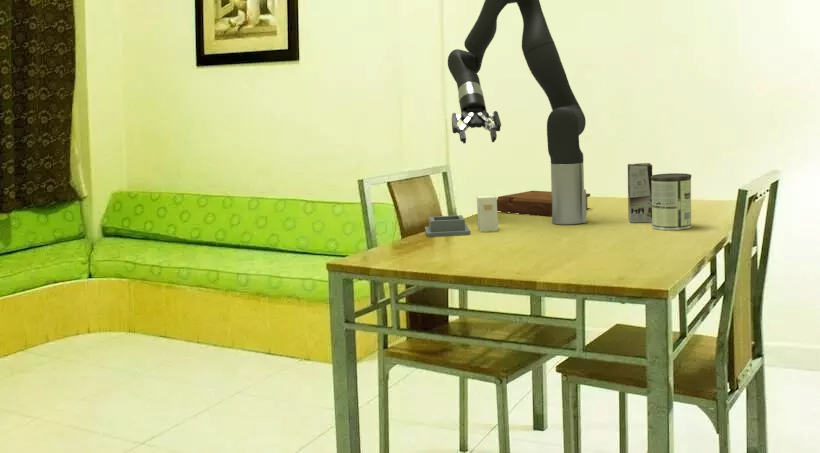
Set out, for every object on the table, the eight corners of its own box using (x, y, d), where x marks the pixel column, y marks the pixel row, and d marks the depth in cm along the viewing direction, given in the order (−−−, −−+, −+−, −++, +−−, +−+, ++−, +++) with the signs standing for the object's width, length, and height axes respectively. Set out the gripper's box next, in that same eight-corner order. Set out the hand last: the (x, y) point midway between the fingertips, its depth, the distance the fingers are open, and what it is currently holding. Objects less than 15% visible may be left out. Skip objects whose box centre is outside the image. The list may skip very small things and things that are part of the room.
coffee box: (653, 222, 239) (652, 165, 236) (629, 223, 240) (628, 165, 238) (650, 218, 248) (650, 162, 245) (627, 218, 249) (627, 163, 246)
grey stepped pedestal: (466, 227, 247) (465, 214, 246) (470, 234, 234) (470, 220, 233) (424, 230, 246) (424, 216, 246) (426, 237, 234) (426, 222, 233)
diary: (497, 214, 276) (496, 196, 275) (533, 207, 288) (532, 190, 288) (555, 218, 259) (554, 199, 258) (590, 210, 272) (590, 192, 271)
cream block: (495, 228, 243) (494, 195, 241) (498, 231, 237) (497, 197, 235) (478, 229, 243) (476, 196, 241) (480, 232, 237) (479, 198, 235)
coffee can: (654, 224, 236) (654, 173, 234) (693, 224, 231) (693, 173, 229) (648, 230, 227) (647, 177, 224) (688, 230, 222) (688, 176, 220)
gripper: (449, 92, 254) (456, 133, 245) (496, 90, 256) (504, 131, 246) (447, 110, 260) (454, 150, 251) (493, 108, 262) (501, 148, 252)
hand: (479, 141), depth 249 cm, fingers open, 8 cm apart
